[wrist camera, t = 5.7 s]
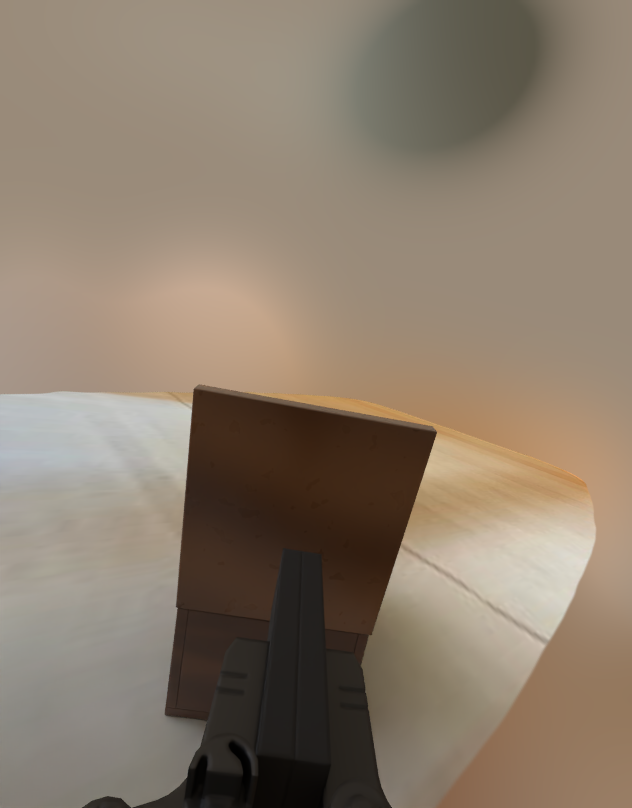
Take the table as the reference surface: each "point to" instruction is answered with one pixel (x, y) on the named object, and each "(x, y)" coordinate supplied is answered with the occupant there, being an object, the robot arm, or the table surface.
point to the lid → (294, 503)
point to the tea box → (220, 655)
